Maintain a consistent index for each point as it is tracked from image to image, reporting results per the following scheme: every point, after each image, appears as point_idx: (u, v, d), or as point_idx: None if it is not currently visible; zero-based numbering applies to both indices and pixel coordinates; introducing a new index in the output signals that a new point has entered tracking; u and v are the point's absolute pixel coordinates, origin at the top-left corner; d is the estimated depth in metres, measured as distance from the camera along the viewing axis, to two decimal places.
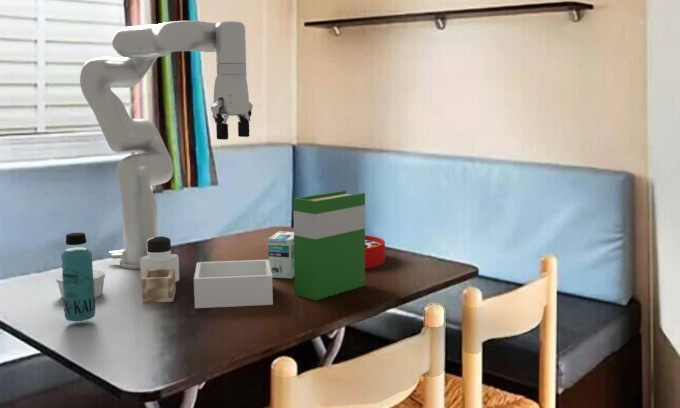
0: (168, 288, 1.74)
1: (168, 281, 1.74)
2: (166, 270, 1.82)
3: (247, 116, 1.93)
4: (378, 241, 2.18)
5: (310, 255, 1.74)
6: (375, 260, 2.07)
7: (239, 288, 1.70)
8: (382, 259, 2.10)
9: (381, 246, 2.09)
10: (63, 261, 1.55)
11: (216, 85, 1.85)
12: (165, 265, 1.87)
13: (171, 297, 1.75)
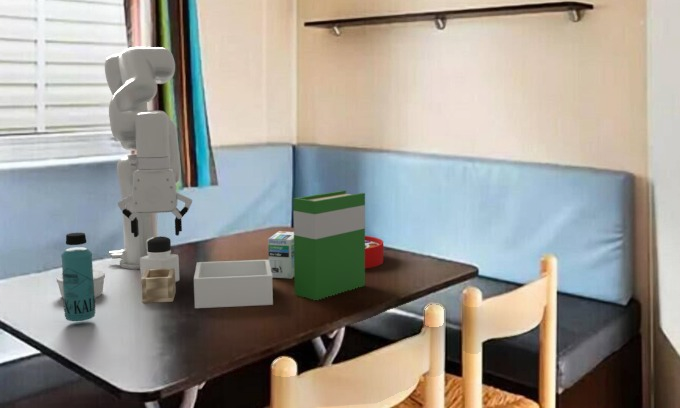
0: (168, 288, 1.74)
1: (168, 281, 1.74)
2: (166, 270, 1.82)
3: None
4: (377, 241, 2.17)
5: (310, 255, 1.74)
6: (373, 260, 2.07)
7: (239, 288, 1.70)
8: (380, 259, 2.09)
9: (379, 246, 2.08)
10: (63, 261, 1.55)
11: (174, 179, 1.73)
12: (165, 265, 1.87)
13: (171, 297, 1.75)
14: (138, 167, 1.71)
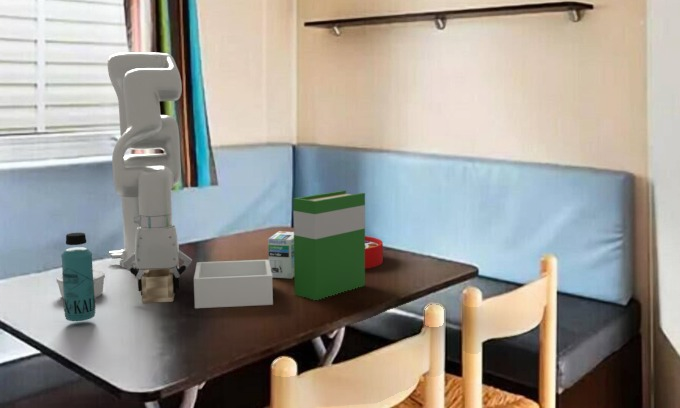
0: (168, 287, 1.74)
1: (168, 280, 1.74)
2: (166, 269, 1.81)
3: None
4: (376, 242, 2.17)
5: (310, 255, 1.74)
6: (373, 261, 2.06)
7: (239, 288, 1.70)
8: (380, 259, 2.09)
9: (379, 247, 2.08)
10: (63, 261, 1.55)
11: (176, 236, 1.75)
12: None
13: (171, 296, 1.75)
14: (141, 225, 1.74)
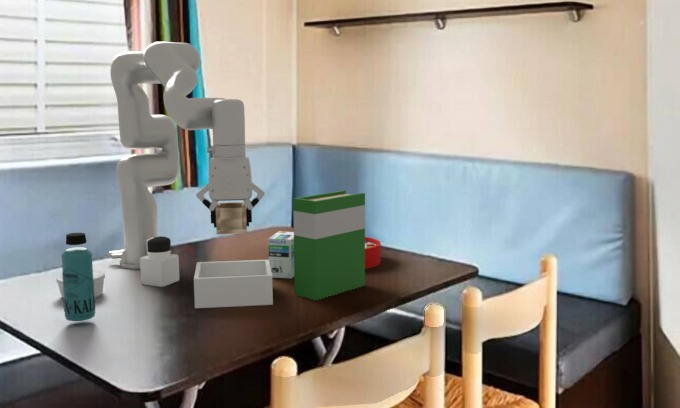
0: (242, 219, 1.71)
1: (242, 211, 1.71)
2: (237, 203, 1.78)
3: None
4: (374, 242, 2.16)
5: (310, 255, 1.74)
6: (370, 261, 2.06)
7: (239, 288, 1.70)
8: (377, 260, 2.08)
9: (377, 247, 2.08)
10: (63, 261, 1.55)
11: (250, 167, 1.72)
12: (165, 265, 1.87)
13: (245, 228, 1.71)
14: (215, 155, 1.70)
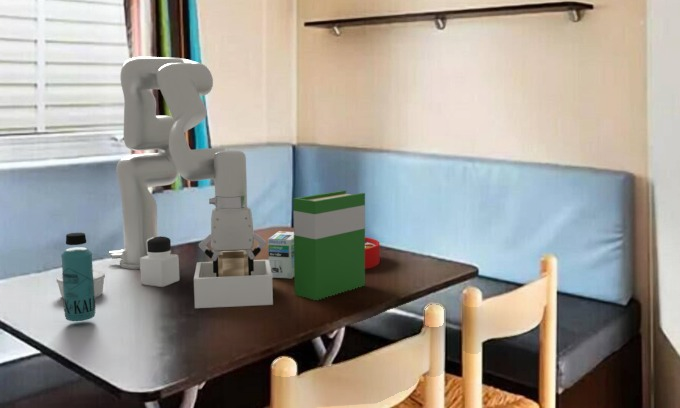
0: (244, 269, 1.73)
1: (244, 262, 1.73)
2: (239, 252, 1.80)
3: None
4: (373, 242, 2.16)
5: (310, 255, 1.74)
6: (369, 261, 2.05)
7: (239, 288, 1.70)
8: (376, 260, 2.08)
9: (376, 247, 2.07)
10: (63, 261, 1.55)
11: (251, 217, 1.74)
12: (165, 265, 1.87)
13: None
14: (217, 206, 1.72)
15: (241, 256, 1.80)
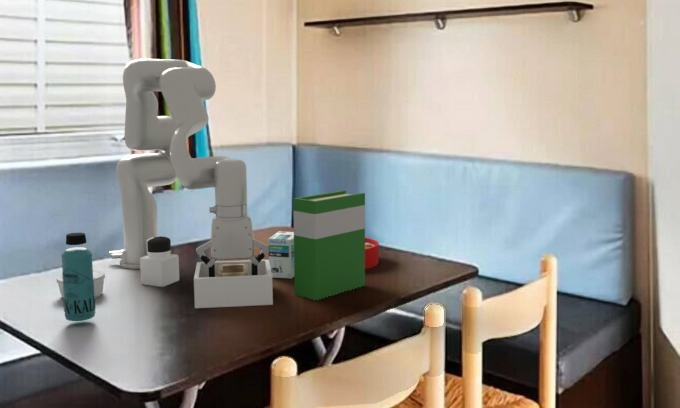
0: None
1: None
2: (239, 265, 1.81)
3: None
4: (372, 242, 2.16)
5: (310, 255, 1.74)
6: (369, 262, 2.05)
7: (239, 288, 1.70)
8: (375, 261, 2.08)
9: (375, 248, 2.07)
10: (63, 261, 1.55)
11: (251, 226, 1.75)
12: (165, 265, 1.87)
13: None
14: (217, 215, 1.73)
15: (241, 270, 1.81)
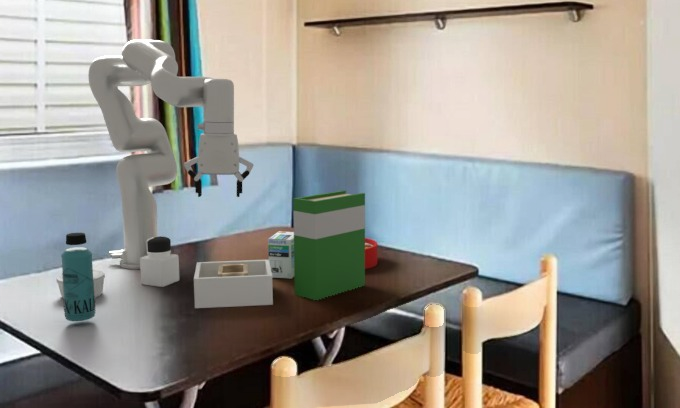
0: None
1: None
2: (239, 265, 1.81)
3: None
4: (370, 243, 2.15)
5: (310, 255, 1.74)
6: (367, 262, 2.05)
7: (239, 288, 1.70)
8: (374, 261, 2.08)
9: (374, 248, 2.07)
10: (63, 261, 1.55)
11: (237, 144, 1.83)
12: (165, 265, 1.87)
13: None
14: (205, 131, 1.81)
15: (241, 270, 1.81)
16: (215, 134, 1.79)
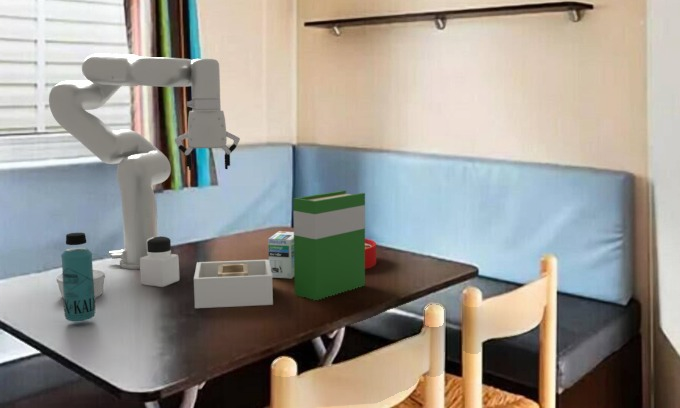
0: None
1: None
2: (239, 265, 1.81)
3: None
4: (369, 243, 2.15)
5: (310, 255, 1.74)
6: (366, 262, 2.04)
7: (239, 288, 1.70)
8: (373, 261, 2.07)
9: (372, 248, 2.06)
10: (63, 261, 1.55)
11: (224, 119, 1.96)
12: (165, 265, 1.87)
13: None
14: (193, 107, 1.94)
15: (241, 270, 1.81)
16: (203, 110, 1.93)
